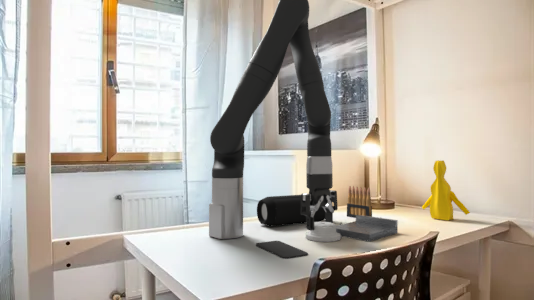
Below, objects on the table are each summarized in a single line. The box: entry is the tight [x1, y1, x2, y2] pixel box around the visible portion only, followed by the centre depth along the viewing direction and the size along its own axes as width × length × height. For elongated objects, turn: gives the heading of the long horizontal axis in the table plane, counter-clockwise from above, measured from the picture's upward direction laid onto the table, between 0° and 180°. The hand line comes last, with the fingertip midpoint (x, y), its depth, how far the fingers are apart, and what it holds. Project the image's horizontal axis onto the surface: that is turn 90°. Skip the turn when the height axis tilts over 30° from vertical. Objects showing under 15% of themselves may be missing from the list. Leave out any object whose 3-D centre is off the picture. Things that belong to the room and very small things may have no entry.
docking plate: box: [335, 215, 399, 243], centre depth 113 cm, size 16×14×4 cm
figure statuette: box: [421, 160, 471, 221], centre depth 137 cm, size 18×8×22 cm, turn 40°
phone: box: [255, 240, 309, 260], centre depth 93 cm, size 7×1×15 cm
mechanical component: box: [305, 221, 342, 243], centre depth 107 cm, size 10×4×10 cm
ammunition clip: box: [346, 185, 373, 219], centre depth 140 cm, size 11×2×12 cm, turn 38°
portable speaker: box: [256, 194, 326, 228], centre depth 129 cm, size 26×10×10 cm, turn 117°
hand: (319, 227), depth 107 cm, fingers open, 8 cm apart
